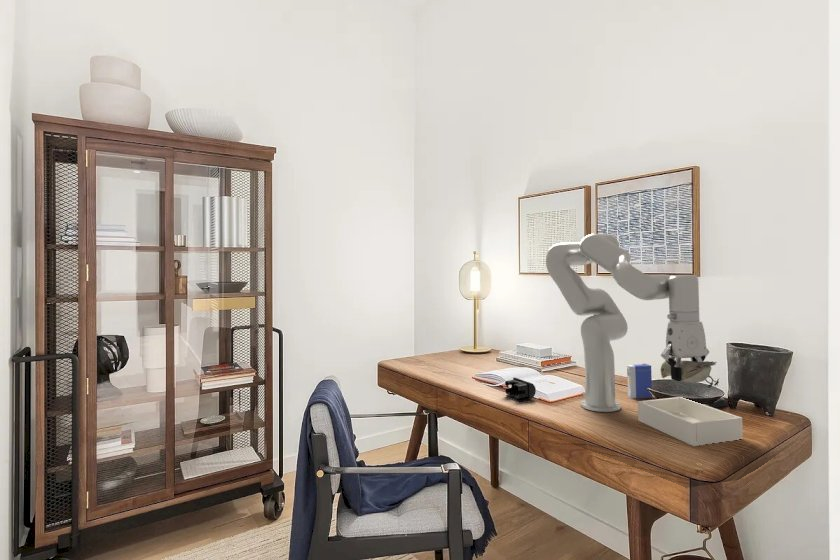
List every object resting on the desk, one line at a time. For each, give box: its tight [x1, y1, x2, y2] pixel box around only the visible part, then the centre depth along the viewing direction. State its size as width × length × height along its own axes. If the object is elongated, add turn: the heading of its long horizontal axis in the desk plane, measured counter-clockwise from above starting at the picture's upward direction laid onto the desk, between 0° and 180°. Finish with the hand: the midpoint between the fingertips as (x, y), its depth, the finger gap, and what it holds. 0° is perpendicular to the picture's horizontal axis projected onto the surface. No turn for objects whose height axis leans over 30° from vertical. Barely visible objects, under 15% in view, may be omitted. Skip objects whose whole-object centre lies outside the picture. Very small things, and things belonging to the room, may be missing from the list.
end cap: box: [504, 377, 537, 403], centre depth 170 cm, size 10×7×7 cm
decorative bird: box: [660, 359, 720, 389], centre depth 131 cm, size 5×16×8 cm, turn 28°
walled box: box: [637, 396, 744, 447], centre depth 132 cm, size 22×16×6 cm
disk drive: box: [687, 393, 729, 409], centre depth 155 cm, size 10×3×15 cm
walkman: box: [626, 363, 653, 399], centre depth 166 cm, size 8×3×12 cm, turn 90°
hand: (686, 378), depth 132 cm, fingers closed on decorative bird, 5 cm apart
